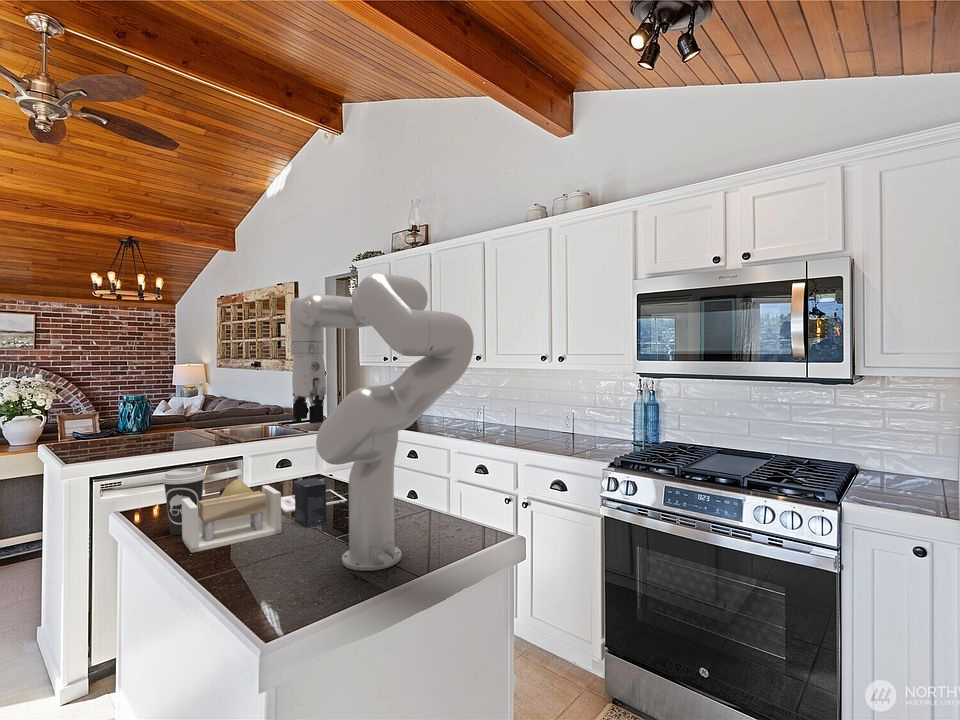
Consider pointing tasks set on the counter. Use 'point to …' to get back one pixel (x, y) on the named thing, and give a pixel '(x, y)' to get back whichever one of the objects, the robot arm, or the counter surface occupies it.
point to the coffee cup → (181, 493)
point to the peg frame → (230, 524)
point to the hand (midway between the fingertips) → (308, 420)
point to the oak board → (232, 506)
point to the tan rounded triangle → (235, 489)
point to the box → (310, 502)
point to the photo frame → (289, 502)
